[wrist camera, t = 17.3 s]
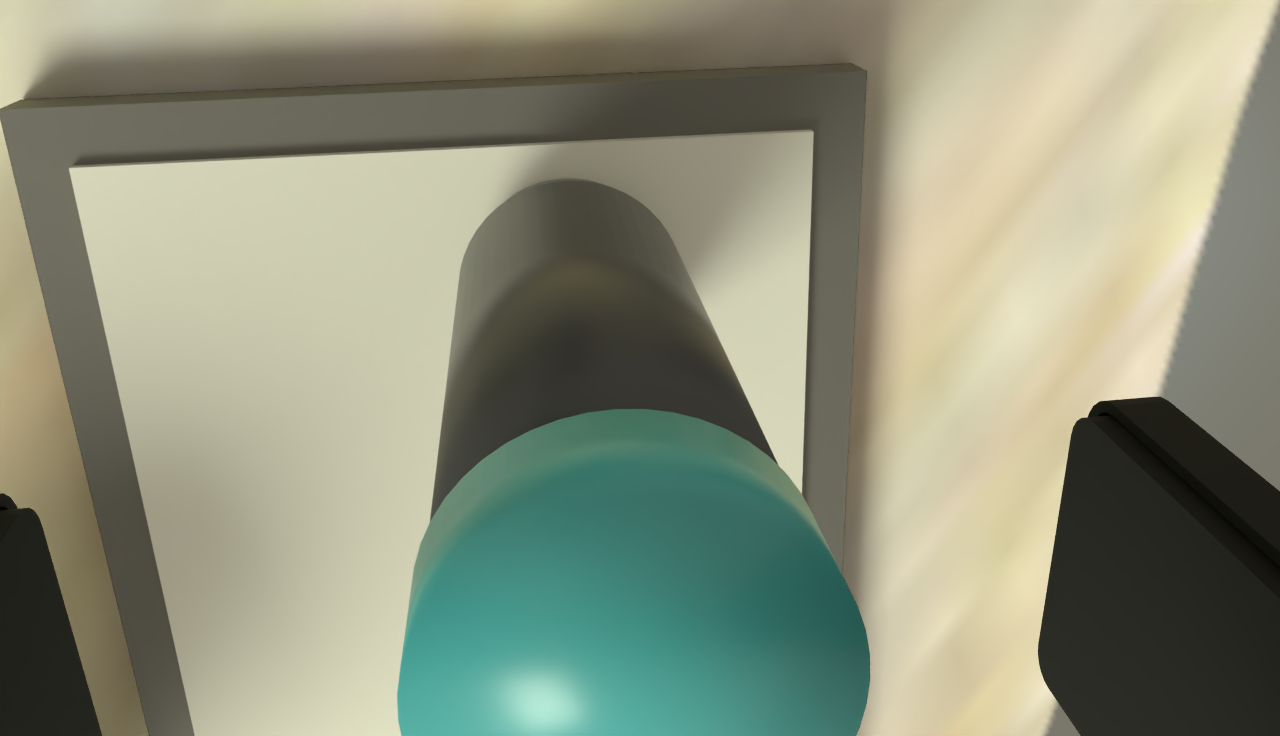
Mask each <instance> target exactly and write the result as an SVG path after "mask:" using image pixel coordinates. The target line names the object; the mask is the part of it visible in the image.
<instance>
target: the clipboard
mask: <svg viewBox="0 0 1280 736" xmlns="http://www.w3.org/2000/svg"><path fill="white" fill-rule="evenodd" d="M866 81H867V71H866V70H864V69H862V68H860V67H858V66H856V65H854V64H852V63H849V64H826V65H803V66H781V67H758V68H735V69H712V70H689V71H666V72H643V73H621V74H598V75H575V76H552V77H529V78H506V79H483V80H460V81H438V82H415V83H392V84H369V85H346V86H323V87H300V88H278V89H255V90H232V91H209V92H186V93H163V94H140V95H118V96H95V97H72V98H49V99H26V100H19V101H17V102H15V103H12V104H10V105H8V106H6V107H3V108H1V109H0V120H1V124H2V128H3V132H4V137H5V141H6V145H7V149H8V153H9V157H10V161H11V166H12V170H13V174H14V178H15V182H16V186H17V190H18V195H19V199H20V203H21V207H22V211H23V215H24V219H25V224H26V228H27V232H28V236H29V240H30V244H31V248H32V253H33V257H34V261H35V265H36V269H37V273H38V277H39V282H40V286H41V290H42V294H43V298H44V302H45V306H46V311H47V315H48V319H49V323H50V327H51V331H52V335H53V340H54V344H55V348H56V352H57V356H58V360H59V364H60V369H61V373H62V377H63V381H64V385H65V389H66V393H67V398H68V402H69V406H70V410H71V414H72V418H73V422H74V427H75V431H76V435H77V439H78V443H79V447H80V451H81V456H82V460H83V464H84V468H85V472H86V476H87V480H88V485H89V489H90V493H91V497H92V501H93V505H94V509H95V514H96V518H97V522H98V526H99V530H100V534H101V538H102V543H103V547H104V551H105V555H106V559H107V563H108V567H109V572H110V576H111V580H112V584H113V588H114V592H115V596H116V601H117V605H118V609H119V613H120V617H121V621H122V625H123V630H124V634H125V638H126V642H127V646H128V650H129V654H130V659H131V663H132V667H133V671H134V675H135V679H136V683H137V688H138V692H139V696H140V700H141V704H142V708H143V712H144V717H145V721H146V725H147V729H148V733H149V736H401V731H400V727H399V722H398V705H397V691H398V683H399V674H400V666H401V659H402V652H403V644H404V637H405V629H406V622H407V615H408V607H409V600H410V593H411V585H412V578H413V570H414V565H415V561H416V558H417V554H418V551H419V547H420V543H421V541H422V539H423V537H424V534H425V532H426V530H427V528H428V526H429V523H430V516H431V507H432V499H433V491H434V482H435V474H436V466H437V457H438V449H439V441H440V432H441V424H442V416H443V407H444V399H445V391H446V383H447V374H448V366H449V358H450V349H451V341H452V333H453V324H454V316H455V308H456V299H457V291H458V283H459V275H460V268H461V264H462V261H463V257H464V254H465V252H466V249H467V247H468V244H469V242H470V240H471V239H472V237H473V235H474V234H475V232H476V230H477V229H478V228H479V226H480V225H481V224H482V223H483V221H484V220H485V219H486V218H487V217H488V216H489V215H490V214H491V213H492V212H493V211H494V210H495V209H496V208H497V207H498V206H500V205H501V204H503V203H504V202H505V201H506V200H508V199H509V198H510V197H512V196H513V195H515V194H516V193H518V192H520V191H522V190H523V189H525V188H527V187H530V186H532V185H535V184H538V183H541V182H545V181H549V180H555V179H564V178H568V179H583V180H590V181H594V182H597V183H601V184H604V185H606V186H609V187H612V188H615V189H617V190H619V191H622V192H624V193H626V194H628V195H629V196H631V197H633V198H634V199H636V200H638V201H639V202H640V203H642V204H643V205H644V206H645V207H647V208H648V209H649V210H650V211H651V212H652V213H653V214H654V215H655V216H656V217H657V218H658V219H659V220H660V222H661V223H662V224H663V226H664V227H665V229H666V230H667V231H668V233H669V235H670V237H671V239H672V240H673V242H674V244H675V246H676V248H677V251H678V253H679V255H680V257H681V259H682V261H683V263H684V265H685V268H686V270H687V272H688V274H689V276H690V278H691V280H692V282H693V285H694V287H695V289H696V291H697V293H698V295H699V297H700V299H701V302H702V304H703V306H704V308H705V310H706V312H707V314H708V316H709V319H710V321H711V323H712V325H713V327H714V329H715V331H716V333H717V336H718V338H719V340H720V342H721V344H722V346H723V348H724V350H725V353H726V355H727V357H728V359H729V361H730V363H731V365H732V367H733V370H734V372H735V374H736V376H737V378H738V380H739V382H740V384H741V387H742V389H743V391H744V393H745V395H746V397H747V399H748V401H749V404H750V406H751V408H752V410H753V412H754V414H755V416H756V418H757V421H758V423H759V425H760V427H761V429H762V431H763V433H764V435H765V438H766V440H767V442H768V444H769V446H770V448H771V450H772V452H773V455H774V457H775V459H776V461H777V463H778V465H779V467H780V468H781V469H782V470H783V471H784V472H785V473H786V474H787V475H788V476H789V477H790V479H791V480H792V481H793V483H794V484H795V485H796V487H797V488H798V489H799V491H800V492H801V493H802V495H803V497H804V499H805V501H806V503H807V505H808V507H809V508H810V510H811V512H812V514H813V516H814V518H815V520H816V522H817V524H818V526H819V528H820V530H821V532H822V534H823V537H824V539H825V541H826V543H827V545H828V547H829V549H830V551H831V553H832V555H833V557H834V559H835V561H836V563H837V565H838V567H839V569H840V571H841V573H842V566H843V545H844V525H845V505H846V485H847V465H848V445H849V424H850V404H851V384H852V364H853V344H854V323H855V303H856V283H857V263H858V243H859V223H860V202H861V182H862V162H863V142H864V122H865V102H866Z"/></svg>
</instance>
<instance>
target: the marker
mask: <svg viewBox="0 0 1280 736" xmlns="http://www.w3.org/2000/svg"><path fill="white" fill-rule="evenodd" d="M869 683H870V653H869V647H868V641H867V635H866V630H865V627H864V624H863V621H862V618H861V615H860V612H859V609H858V606H857V604H856V602H855V600H854V598H853V596H852V594H851V592H850V590H849V588H848V586H847V584H846V582H845V580H844V577H843V575H842V573H841V571H840V569H839V567H838V565H837V563H836V561H835V559H834V557H833V555H832V553H831V551H830V549H829V547H828V545H827V543H826V541H825V539H824V537H823V534H822V532H821V530H820V528H819V526H818V524H817V522H816V520H815V518H814V516H813V514H812V512H811V510H810V508H809V507H808V505H807V503H806V501H805V499H804V497H803V495H802V493H801V492H800V491H799V489H798V488H797V487H796V485H795V484H794V483H793V481H792V480H791V479H790V477H789V476H788V475H787V474H786V473H785V472H784V471H783V470H782V469H781V468H780V467H779V465H778V463H777V461H776V459H775V457H774V455H773V452H772V450H771V448H770V446H769V444H768V442H767V440H766V438H765V435H764V433H763V431H762V429H761V427H760V425H759V423H758V421H757V418H756V416H755V414H754V412H753V410H752V408H751V406H750V404H749V401H748V399H747V397H746V395H745V393H744V391H743V389H742V387H741V384H740V382H739V380H738V378H737V376H736V374H735V372H734V370H733V367H732V365H731V363H730V361H729V359H728V357H727V355H726V353H725V350H724V348H723V346H722V344H721V342H720V340H719V338H718V336H717V333H716V331H715V329H714V327H713V325H712V323H711V321H710V319H709V316H708V314H707V312H706V310H705V308H704V306H703V304H702V302H701V299H700V297H699V295H698V293H697V291H696V289H695V287H694V285H693V282H692V280H691V278H690V276H689V274H688V272H687V270H686V268H685V265H684V263H683V261H682V259H681V257H680V255H679V253H678V251H677V248H676V246H675V244H674V242H673V240H672V239H671V237H670V235H669V233H668V231H667V230H666V229H665V227H664V226H663V224H662V223H661V222H660V220H659V219H658V218H657V217H656V216H655V215H654V214H653V213H652V212H651V211H650V210H649V209H648V208H647V207H645V206H644V205H643V204H642V203H640V202H639V201H638V200H636V199H634V198H633V197H631V196H629V195H628V194H626V193H624V192H622V191H619V190H617V189H615V188H612V187H609V186H606V185H604V184H601V183H597V182H594V181H590V180H583V179H568V178H564V179H555V180H549V181H545V182H541V183H538V184H535V185H532V186H530V187H527V188H525V189H523V190H522V191H520V192H518V193H516V194H515V195H513V196H512V197H510V198H509V199H508V200H506V201H505V202H504V203H503V204H501V205H500V206H498V207H497V208H496V209H495V210H494V211H493V212H492V213H491V214H490V215H489V216H488V217H487V218H486V219H485V220H484V221H483V223H482V224H481V225H480V226H479V228H478V229H477V230H476V232H475V234H474V235H473V237H472V239H471V240H470V242H469V244H468V247H467V249H466V252H465V254H464V257H463V261H462V264H461V268H460V275H459V283H458V291H457V299H456V308H455V316H454V324H453V333H452V341H451V349H450V358H449V366H448V374H447V383H446V391H445V399H444V407H443V416H442V424H441V432H440V441H439V449H438V457H437V466H436V474H435V482H434V491H433V499H432V507H431V516H430V523H429V526H428V528H427V530H426V532H425V534H424V537H423V539H422V541H421V543H420V547H419V551H418V554H417V558H416V561H415V565H414V570H413V578H412V585H411V593H410V600H409V607H408V615H407V622H406V629H405V637H404V644H403V652H402V659H401V666H400V674H399V683H398V691H397V705H398V722H399V727H400V731H401V736H856V734H857V732H858V730H859V727H860V724H861V721H862V717H863V714H864V711H865V707H866V704H867V697H868V690H869Z"/></svg>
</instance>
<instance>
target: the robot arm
mask: <svg viewBox="0 0 1280 736" xmlns="http://www.w3.org/2000/svg"><path fill="white" fill-rule="evenodd" d="M1038 658H1039V665H1040V669H1041V673H1042V675H1043V678H1044V681H1045V683H1046V684H1047V686H1048V688H1049V689H1050V691H1051V692H1052V694H1053V695H1054V697H1055V698H1056V700H1057V701H1058V703H1059V704H1060V706H1061V707H1062V709H1063V710H1064V712H1065V713H1066V715H1067V716H1068V718H1069V719H1070V720H1071V722H1072V723H1073V725H1074V726H1075V728H1076V729H1077V731H1078V732H1079V734H1080V735H1081V736H1280V491H1278V490H1277V489H1276V488H1275V487H1274V486H1272V485H1271V484H1270V483H1269V482H1267V481H1266V480H1265V479H1264V478H1262V477H1261V476H1260V475H1259V474H1258V473H1256V472H1255V471H1254V470H1253V469H1251V468H1250V467H1249V466H1248V465H1247V464H1245V463H1244V462H1243V461H1242V460H1240V459H1239V458H1238V457H1237V456H1235V455H1234V454H1233V453H1232V452H1231V451H1229V450H1228V449H1227V448H1226V447H1224V446H1223V445H1222V444H1221V443H1219V442H1218V441H1217V440H1216V439H1214V438H1213V437H1212V436H1211V435H1210V434H1208V433H1207V432H1206V431H1205V430H1203V429H1202V428H1201V427H1200V426H1199V425H1197V424H1196V423H1195V422H1194V421H1192V420H1191V419H1190V418H1189V417H1187V416H1186V415H1185V414H1184V413H1182V412H1181V411H1180V410H1179V409H1178V408H1176V407H1175V406H1174V405H1173V404H1171V403H1170V402H1169V401H1167V400H1165V399H1164V398H1162V397H1147V398H1135V399H1123V400H1111V401H1100V402H1098V403H1097V404H1096V405H1094V406H1093V408H1092V409H1091V411H1090V413H1089V415H1088V418H1081V419H1079V420H1078V421H1077V422H1076V424H1075V425H1074V427H1073V431H1072V434H1071V440H1070V446H1069V453H1068V459H1067V465H1066V472H1065V478H1064V485H1063V491H1062V497H1061V504H1060V510H1059V516H1058V523H1057V529H1056V535H1055V542H1054V548H1053V555H1052V561H1051V567H1050V574H1049V580H1048V586H1047V593H1046V599H1045V606H1044V612H1043V618H1042V625H1041V631H1040V637H1039V644H1038ZM0 736H102V734H101V730H100V727H99V723H98V720H97V716H96V713H95V709H94V706H93V702H92V699H91V695H90V692H89V688H88V685H87V681H86V678H85V674H84V671H83V667H82V664H81V660H80V657H79V653H78V650H77V646H76V643H75V639H74V636H73V632H72V629H71V626H70V622H69V619H68V615H67V612H66V608H65V605H64V601H63V598H62V594H61V591H60V587H59V584H58V580H57V577H56V573H55V570H54V566H53V563H52V559H51V556H50V552H49V549H48V545H47V542H46V538H45V535H44V531H43V528H42V524H41V522H40V519H39V517H38V515H37V514H36V513H35V511H34V510H32V509H30V508H23V509H17V506H16V504H15V503H14V502H13V500H12V499H11V498H10V497H9V496H7V495H5V494H4V493H3V494H0Z"/></svg>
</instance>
